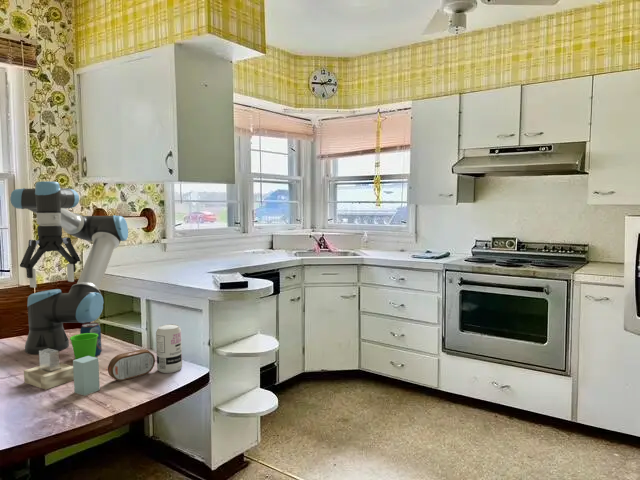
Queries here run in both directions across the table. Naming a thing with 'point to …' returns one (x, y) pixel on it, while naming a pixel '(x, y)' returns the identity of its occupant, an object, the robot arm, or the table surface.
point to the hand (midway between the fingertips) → (52, 284)
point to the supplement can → (169, 348)
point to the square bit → (86, 375)
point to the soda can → (93, 329)
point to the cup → (84, 344)
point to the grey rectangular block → (49, 360)
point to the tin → (131, 364)
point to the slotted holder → (48, 376)
